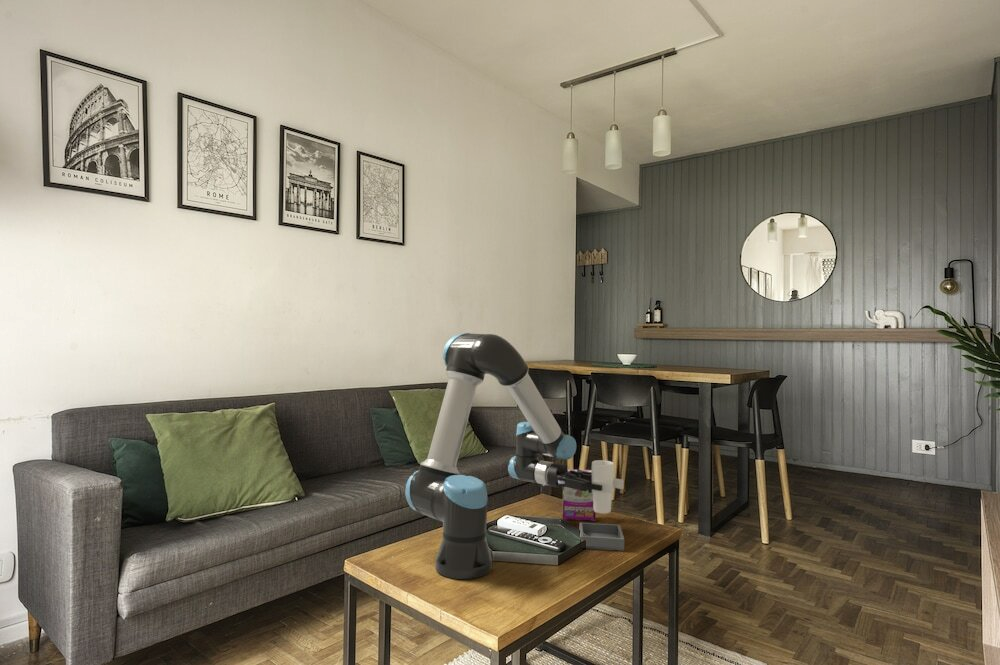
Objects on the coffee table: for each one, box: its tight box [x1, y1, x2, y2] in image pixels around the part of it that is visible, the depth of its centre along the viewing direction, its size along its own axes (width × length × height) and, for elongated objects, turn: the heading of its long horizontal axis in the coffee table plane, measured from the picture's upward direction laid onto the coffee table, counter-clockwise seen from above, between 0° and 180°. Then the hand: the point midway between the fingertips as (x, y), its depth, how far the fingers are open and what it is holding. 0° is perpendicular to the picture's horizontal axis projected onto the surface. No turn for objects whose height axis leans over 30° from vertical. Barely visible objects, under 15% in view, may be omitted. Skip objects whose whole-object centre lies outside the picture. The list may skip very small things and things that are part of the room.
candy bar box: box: [562, 468, 596, 522], centre depth 192 cm, size 11×5×16 cm, turn 84°
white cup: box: [590, 459, 615, 515], centre depth 171 cm, size 7×7×15 cm
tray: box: [578, 521, 625, 552], centre depth 170 cm, size 13×13×4 cm
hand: (618, 486), depth 168 cm, fingers closed on white cup, 6 cm apart
